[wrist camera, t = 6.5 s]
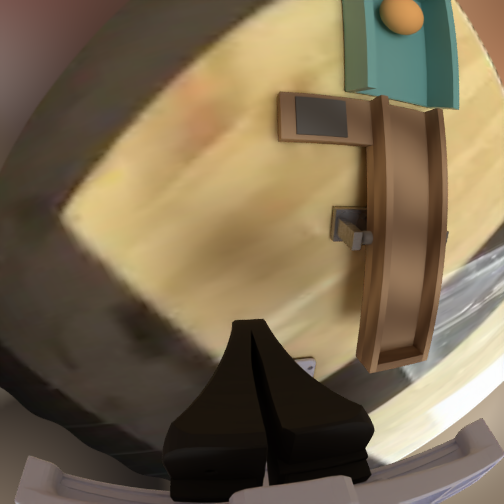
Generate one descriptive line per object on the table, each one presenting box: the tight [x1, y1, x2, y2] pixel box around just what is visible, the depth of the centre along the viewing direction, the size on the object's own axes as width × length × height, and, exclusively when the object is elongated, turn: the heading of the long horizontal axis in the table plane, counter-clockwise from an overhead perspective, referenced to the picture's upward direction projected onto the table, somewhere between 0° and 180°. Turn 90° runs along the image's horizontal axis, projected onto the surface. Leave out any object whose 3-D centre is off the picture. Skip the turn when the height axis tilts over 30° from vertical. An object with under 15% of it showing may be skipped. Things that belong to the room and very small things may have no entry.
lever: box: [277, 92, 448, 373], centre depth 18 cm, size 18×12×3 cm, turn 0°
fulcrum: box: [331, 207, 449, 250], centre depth 20 cm, size 2×8×4 cm, turn 90°
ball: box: [379, 0, 424, 35], centre depth 13 cm, size 3×3×3 cm
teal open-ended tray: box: [342, 0, 459, 110], centre depth 14 cm, size 10×8×4 cm
